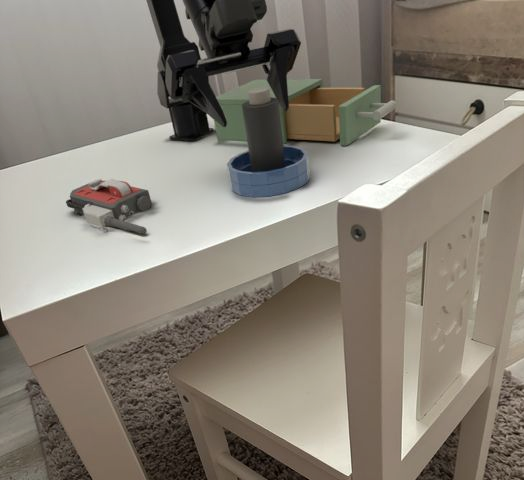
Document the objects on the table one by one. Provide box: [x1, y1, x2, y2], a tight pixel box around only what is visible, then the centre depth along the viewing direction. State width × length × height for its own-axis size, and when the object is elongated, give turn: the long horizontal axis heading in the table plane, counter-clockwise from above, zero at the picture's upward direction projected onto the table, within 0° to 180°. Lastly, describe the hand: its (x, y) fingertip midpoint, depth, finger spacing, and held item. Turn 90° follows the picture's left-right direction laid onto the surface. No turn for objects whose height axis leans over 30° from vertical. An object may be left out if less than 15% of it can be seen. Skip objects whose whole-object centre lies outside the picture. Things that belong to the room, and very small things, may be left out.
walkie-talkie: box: [65, 177, 153, 234], centre depth 72 cm, size 9×4×20 cm
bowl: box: [226, 144, 311, 198], centre depth 74 cm, size 11×11×4 cm
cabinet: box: [213, 78, 324, 145], centre depth 94 cm, size 15×14×8 cm
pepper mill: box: [242, 87, 286, 172], centre depth 71 cm, size 5×5×12 cm
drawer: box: [284, 84, 397, 147], centre depth 87 cm, size 18×12×6 cm
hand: (256, 117), depth 71 cm, fingers open, 9 cm apart
